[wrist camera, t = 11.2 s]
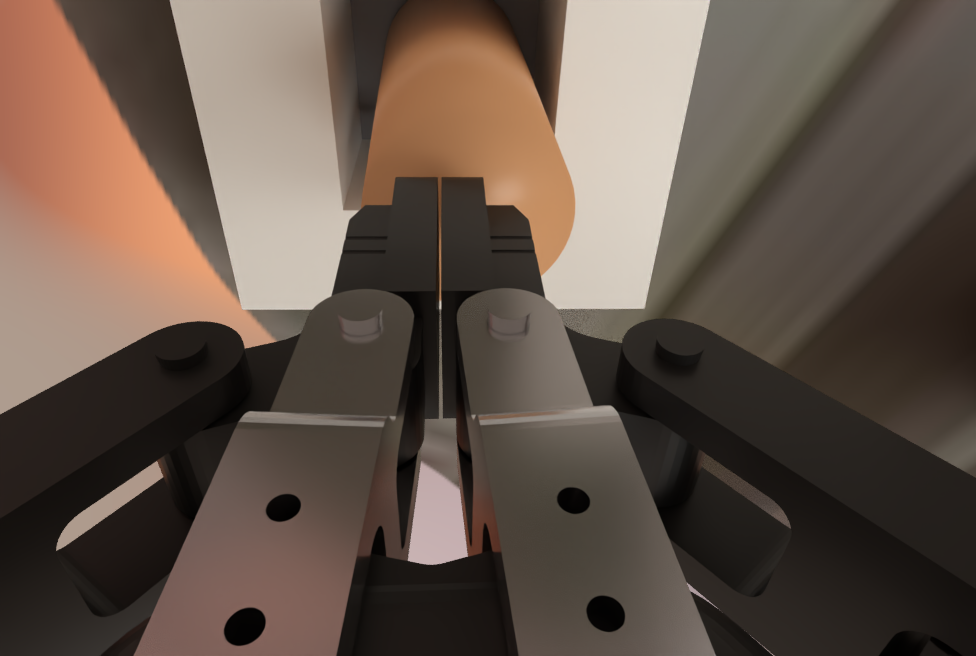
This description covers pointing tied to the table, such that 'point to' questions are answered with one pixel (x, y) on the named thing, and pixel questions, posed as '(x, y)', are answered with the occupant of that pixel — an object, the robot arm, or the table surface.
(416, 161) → the plug
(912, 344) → the table surface
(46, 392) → the robot arm
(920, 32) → the table surface
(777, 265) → the table surface
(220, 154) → the socket block
